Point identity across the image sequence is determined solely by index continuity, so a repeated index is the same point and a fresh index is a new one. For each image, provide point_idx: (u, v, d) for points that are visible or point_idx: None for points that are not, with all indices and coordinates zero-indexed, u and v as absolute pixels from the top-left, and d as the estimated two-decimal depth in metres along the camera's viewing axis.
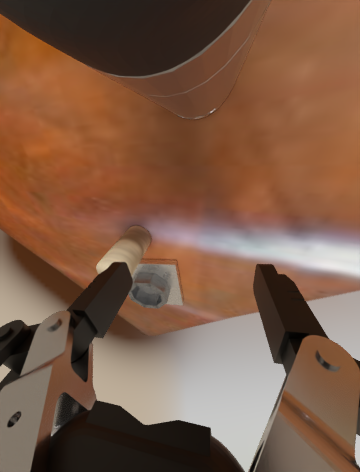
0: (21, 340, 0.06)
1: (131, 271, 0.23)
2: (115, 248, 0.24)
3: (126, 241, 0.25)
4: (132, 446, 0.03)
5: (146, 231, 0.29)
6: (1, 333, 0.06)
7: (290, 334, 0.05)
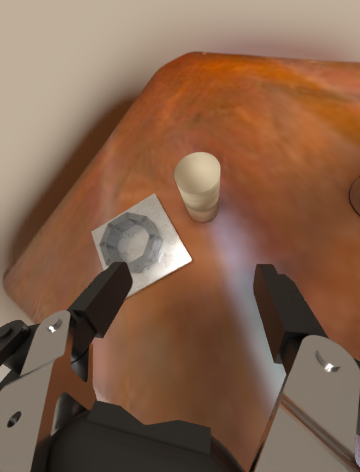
0: (21, 340, 0.06)
1: (206, 192, 0.17)
2: None
3: None
4: (132, 446, 0.03)
5: (217, 213, 0.26)
6: (1, 333, 0.06)
7: (290, 334, 0.05)
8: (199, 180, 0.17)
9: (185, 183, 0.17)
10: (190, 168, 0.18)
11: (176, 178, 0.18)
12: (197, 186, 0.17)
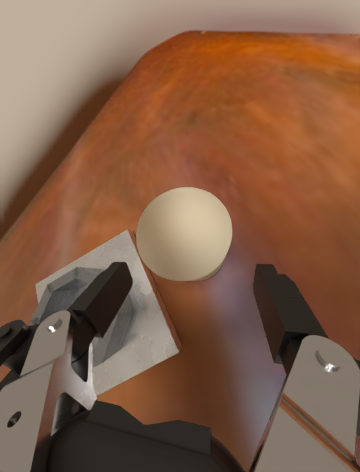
0: (21, 340, 0.06)
1: (202, 277, 0.08)
2: None
3: None
4: (132, 446, 0.03)
5: (220, 266, 0.16)
6: (1, 333, 0.06)
7: (290, 334, 0.05)
8: (185, 253, 0.08)
9: (156, 257, 0.08)
10: (168, 221, 0.08)
11: (139, 242, 0.08)
12: (181, 268, 0.08)
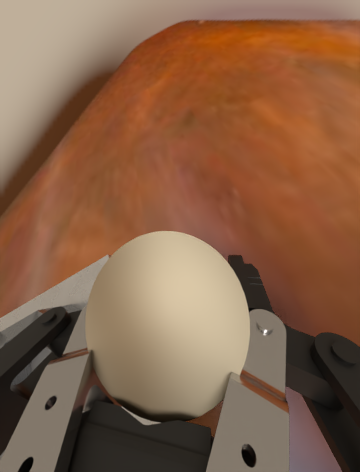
0: (65, 325, 0.07)
1: None
2: None
3: None
4: (132, 446, 0.03)
5: None
6: (47, 318, 0.06)
7: None
8: (165, 361, 0.04)
9: (115, 361, 0.05)
10: (139, 292, 0.05)
11: (89, 327, 0.05)
12: (156, 392, 0.04)
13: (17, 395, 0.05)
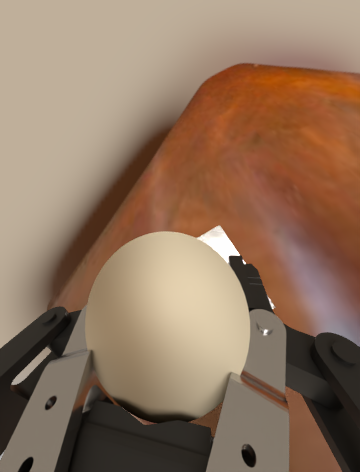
0: (65, 325, 0.07)
1: None
2: None
3: None
4: (132, 446, 0.03)
5: None
6: (47, 317, 0.06)
7: None
8: (165, 361, 0.04)
9: (115, 362, 0.05)
10: (139, 292, 0.05)
11: (89, 328, 0.05)
12: (156, 393, 0.04)
13: (17, 395, 0.05)
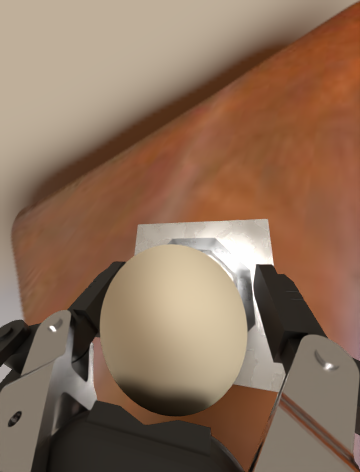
0: (22, 340, 0.06)
1: None
2: None
3: None
4: (132, 446, 0.03)
5: None
6: (2, 332, 0.06)
7: (289, 333, 0.05)
8: (172, 361, 0.05)
9: (127, 361, 0.05)
10: (148, 299, 0.06)
11: (104, 331, 0.06)
12: (165, 389, 0.05)
13: None
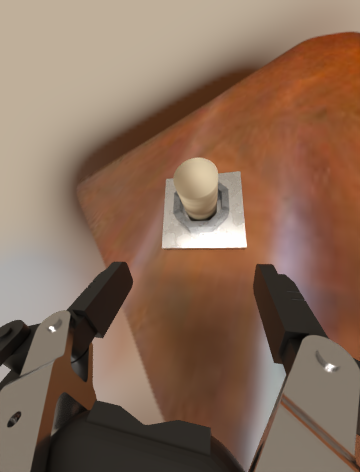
0: (21, 340, 0.06)
1: (204, 198, 0.18)
2: None
3: None
4: (132, 446, 0.03)
5: None
6: (1, 333, 0.06)
7: (290, 334, 0.05)
8: (197, 186, 0.17)
9: (183, 188, 0.18)
10: (189, 173, 0.18)
11: (175, 183, 0.18)
12: (195, 192, 0.17)
13: None
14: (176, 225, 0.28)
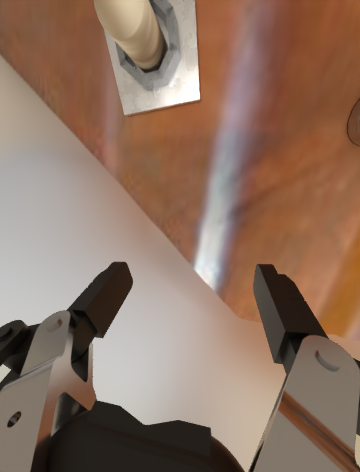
0: (21, 340, 0.06)
1: (135, 36, 0.17)
2: None
3: (155, 17, 0.18)
4: (132, 446, 0.03)
5: None
6: (1, 333, 0.06)
7: (290, 334, 0.05)
8: (122, 17, 0.16)
9: (110, 24, 0.16)
10: None
11: (98, 15, 0.16)
12: (122, 28, 0.16)
13: None
14: (130, 82, 0.26)
